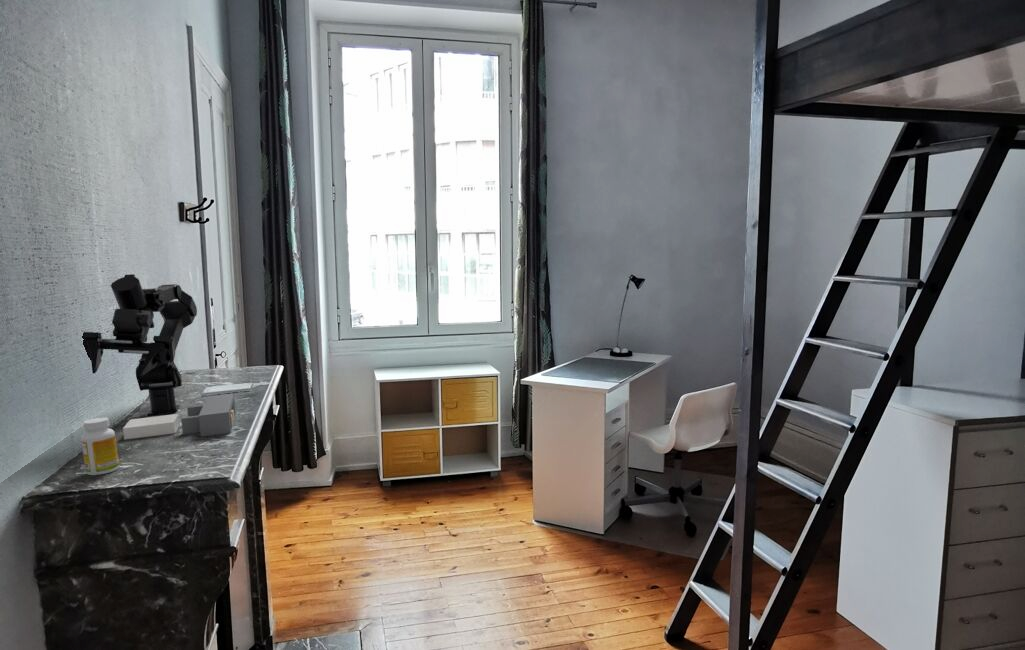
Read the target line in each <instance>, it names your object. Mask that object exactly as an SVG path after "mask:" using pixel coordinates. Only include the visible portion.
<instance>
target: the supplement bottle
mask: <svg viewBox="0 0 1025 650" xmlns="http://www.w3.org/2000/svg"><path fill="white" fill-rule="evenodd" d="M109 426H110V420H109V418H108V417H97V418H91V419H88V420H85V421H84V422H83V428H84V431H85V432H84V433H83V434H82V435H81V437H80V439H81V446H82V455H83V461H84V469H85V473H86V474H87V475H89V476H98V475H99V476H100V475H106V474H109V473H110V474H111V473H112V472H115V471H116V470H118V469H119V467H120V461H119V455H118V448H117V447H118V446H117V439H116V433H115V430H113V429H112V428H109Z"/></svg>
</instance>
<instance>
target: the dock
mask: <svg viewBox="0 0 1025 650" xmlns="http://www.w3.org/2000/svg"><path fill="white" fill-rule="evenodd" d="M186 410H187V416H182V417H181V418H180V423H181V428H182V429H181V430H182V435H188V434H196V432H197V433H200V437H207V435H209V436H215V434H217V435H222V434H230V433H232V428H233V426H232V425H234V420H235V417H234V416H236V415H235V414H236V413H235V412H237V411H236V402H235V393H230V394H220V395H210V396H206V398H205V401H204V402H203V404H200V405H199V404H198V405H191V406H187V408H186Z"/></svg>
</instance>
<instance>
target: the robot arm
mask: <svg viewBox="0 0 1025 650" xmlns="http://www.w3.org/2000/svg"><path fill="white" fill-rule="evenodd" d="M110 288H111V289H112V290H111V291H112V292H113V295H114V298H115V299H116V302H117V305H118V308H116V309H114V313H113V316H112V317H113V318H112V322H111V323H112V325H113V327H114V328H113V330H112V336H113V337H115V338H103V337H102V332H94V331H83V332H84V333H83V336H82V338H83V339H84V340H83V345H84V347H85V350H86V352H87V355H88V357H89V358H90V360H91V361H90V362H91V370H92V374H94V375H95V374H96V373H97V372H98V370H99V367H100V365H101V363H102V361H103V359H102V357H103V355H104V350H114V351H115V350H116V351H117V352H118V353H119V354H139V355H141V356H140V359H139V360H138V365H137V366H136V368H135V378H136V380H137V385H138V387H139V391H148V398H149V406H150V410H149V411H148V412H147V416H153V415H154V416H157V415H163V414H164V415H165V414H171V413H173V414H174V413H177V412H178V410H179V409H180V404H177V401H176V391H175V389H177V388H178V387H182V386H183V380H182V374H181V373H180V371H179V369H178V367H177V365H176V364H175V362H174V361H175V356H176V351H177V347H178V344H179V342H180V338H181V336H182V333H183V331H184V329H185V328H187V327H188V326H190V325H191V324H193V323H194V321H195V318H196V317H197V315H198V309H197V305H196V302H195V300H194V298H193V296H191V295H190V294H188V293H187V292H185V291H183V289H182V288H181V285H180V284H176V283H175V284H173V283H171V284H160V285H159V286H158V287H154V288H142V284H141V282H140V280H139V278H137V277H136V275H135V274H125V275H124V277H121V278H118V279H116V280H114V281H113V282H111V284H110ZM155 313H159V314H160V316H161V317H162V319H163V325H162V327H161V330H160V332H159V334H158V335H153V338H152V340H153V342H147V341H148V334H149V332H150V329H154V328H155V323H154V317H155V316H154V315H155Z"/></svg>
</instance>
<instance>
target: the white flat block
mask: <svg viewBox="0 0 1025 650" xmlns="http://www.w3.org/2000/svg"><path fill="white" fill-rule="evenodd" d="M180 425H181V420H180V414H179V413H173V414H166V415H165V414H164V415H155V416H148V417H142V418H132V419H129V420H128V421H127V423H126V424H125V425H124V426H123V427H122V432H123V433H122V434H123V440H125V441H126V440H131V439H132V440H133V439H140V438H146V437H148V438H149V437H155V436H162V435H171V434H176V432H177V430H178V429H179V426H180Z"/></svg>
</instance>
